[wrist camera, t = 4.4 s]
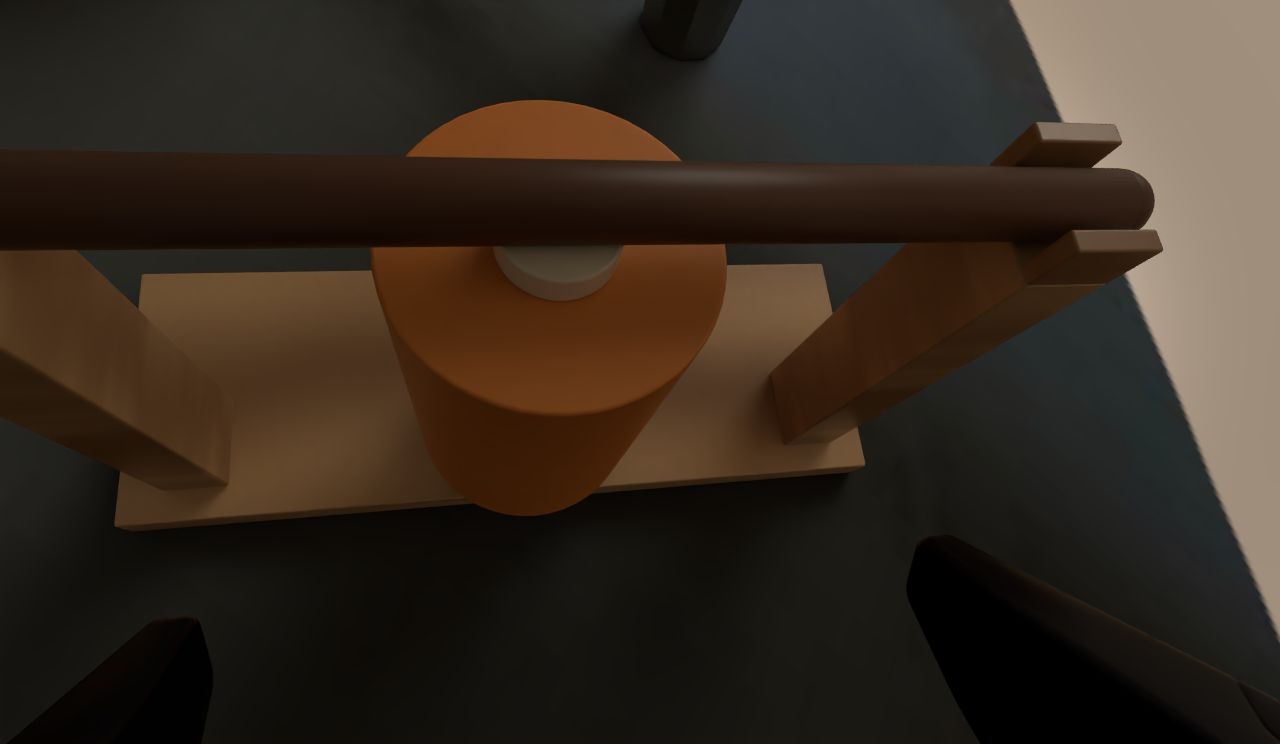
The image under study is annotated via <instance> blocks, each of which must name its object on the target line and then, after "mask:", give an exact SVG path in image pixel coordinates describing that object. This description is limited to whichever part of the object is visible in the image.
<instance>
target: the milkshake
mask: <svg viewBox="0 0 1280 744" xmlns="http://www.w3.org/2000/svg"><path fill="white" fill-rule="evenodd" d="M742 1H743V0H645V2H644V10H643V19H642V29H643V31H644V32H645V34H646V35H647V37H648V38H649V40H650V41H651V43H652V44H653V46H654V47H655V48H656V49H658V50H660V51H662V52H664V53H666V54H668V55H670V56H672V57H674V58H676V59H678V60H686V59H704V58H705V57H706V56H708V55H709V54H710V53H711V52H712V51H714V50H715V49H716V48H717V47H719V46H720V45H721V43H722V41H723V39H724V37H725V35H726V33H727V31H728V29H729V27H730V25H731V23H732V21H733V19H734V17H735V15H736V13H737V11H738V9H739V7H740V5H741V3H742Z"/></svg>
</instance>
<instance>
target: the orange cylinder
mask: <svg viewBox="0 0 1280 744" xmlns="http://www.w3.org/2000/svg"><path fill="white" fill-rule="evenodd" d="M1154 201H1155V200H1154V193H1153V190H1152V188H1151V185H1150V184H1149V183H1148V181H1147V180H1146V179H1145V178H1143V177H1142V176H1141V175H1140V174H1138V173H1136V172H1133V171H1131V170H1126V169H1119V168H1063V167H1004V166H944V165H885V164H825V163H766V162H707V161H681V160H680V159H679V158H678V157H677V156H676V155H675V154H674V153H673V152H672V151H671V150H670V149H668V148H667V147H666V146H665V145H664V144H663V143H661V142H660V141H659V140H657V139H656V138H654V137H653V136H652V135H650V134H649V133H647V132H646V131H644V130H642V129H641V128H639V127H637V126H635V125H633V124H632V123H630V122H628V121H626V120H624V119H621V118H619V117H617V116H614V115H612V114H610V113H607V112H604V111H601V110H598V109H594V108H591V107H588V106H583V105H578V104H573V103H568V102H560V101H548V100H524V101H515V102H507V103H500V104H496V105H492V106H488V107H484V108H480V109H478V110H475V111H472V112H470V113H467V114H464V115H462V116H459V117H457V118H456V119H454V120H452V121H450V122H448V123H446V124H444V125H442V126H441V127H439V128H438V129H436V130H435V131H434V132H432V133H431V134H429V135H428V136H426V137H425V138H424V139H423V140H422V141H421V142H419V143H418V144H417V145H416V146H415V147H414V148H413V149H412V150H411V151H410V152H409V153H408V154H407V155H406V156H350V155H290V154H231V153H172V152H112V151H53V150H0V251H40V250H153V249H266V248H370V257H371V270H372V275H373V279H374V283H375V288H376V292H377V295H378V298H379V302H380V305H381V308H382V311H383V314H384V317H385V320H386V323H387V326H388V329H389V333H390V336H391V339H392V342H393V345H394V348H395V351H396V354H397V357H398V361H399V364H400V367H401V370H402V373H403V376H404V379H405V382H406V385H407V389H408V392H409V395H410V398H411V401H412V404H413V407H414V410H415V413H416V417H417V420H418V423H419V426H420V429H421V432H422V435H423V438H424V441H425V445H426V447H427V450H428V452H429V455H430V457H431V459H432V461H433V463H434V465H435V466H436V468H437V470H438V471H439V473H440V474H441V475H442V476H443V478H444V479H445V480H446V481H447V482H448V483H449V484H450V485H451V486H452V487H453V488H454V489H455V490H456V491H457V492H458V493H460V494H461V495H462V496H464V497H465V498H466V499H468V500H470V501H472V502H473V503H475V504H477V505H479V506H481V507H484V508H486V509H489V510H491V511H495V512H499V513H503V514H507V515H516V516H536V515H542V514H549V513H552V512H556V511H559V510H563V509H565V508H567V507H569V506H572V505H574V504H576V503H577V502H579V501H581V500H582V499H584V498H586V497H587V496H588V495H590V494H591V493H592V492H593V491H595V490H596V489H597V488H598V487H599V486H600V485H601V484H602V483H603V482H604V481H605V480H606V479H607V477H608V476H609V474H610V473H611V472H612V470H613V469H614V468H615V466H616V465H617V464H618V462H619V461H620V459H621V458H622V457H623V455H624V454H625V453H626V451H627V450H628V449H629V447H630V446H631V444H632V443H633V442H634V440H635V439H636V438H637V436H638V435H639V434H640V432H641V431H642V429H643V428H644V427H645V425H646V424H647V423H648V421H649V420H650V419H651V417H652V416H653V414H654V413H655V412H656V410H657V409H658V408H659V406H660V405H661V404H662V402H663V401H664V399H665V398H666V397H667V395H668V394H669V393H670V391H671V390H672V389H673V387H674V386H675V384H676V383H677V382H678V380H679V379H680V378H681V376H682V375H683V374H684V372H685V371H686V370H687V368H688V367H689V365H690V364H691V363H692V361H693V360H694V359H695V357H696V356H697V354H698V353H699V352H700V350H701V349H702V348H703V346H704V345H705V343H706V342H707V340H708V338H709V336H710V334H711V332H712V330H713V328H714V327H715V325H716V322H717V319H718V316H719V313H720V310H721V308H722V305H723V299H724V294H725V289H726V276H727V261H726V251H725V244H832V243H945V242H1056V241H1057V240H1059V239H1060V238H1061V237H1063V236H1064V235H1066V234H1067V233H1069V232H1070V231H1072V230H1139V229H1140V228H1142V227H1143V226H1144V225H1145V224H1146V222H1147V221H1148V219H1149V218H1150V216H1151V214H1152V212H1153V208H1154Z"/></svg>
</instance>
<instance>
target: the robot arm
mask: <svg viewBox="0 0 1280 744" xmlns="http://www.w3.org/2000/svg"><path fill="white" fill-rule="evenodd" d="M906 590H907V596H908V600H909V602H910V605H911V607H912V609H913V611H914V613H915V616H916V618H917V620H918V622H919V624H920V626H921V628H922V631H923V633H924V635H925V637H926V639H927V641H928V643H929V646H930V648H931V650H932V652H933V654H934V656H935V658H936V661H937V663H938V665H939V667H940V669H941V671H942V673H943V676H944V678H945V680H946V682H947V684H948V686H949V688H950V690H951V692H952V694H953V696H954V698H955V700H956V702H957V704H958V706H959V707H960V709H961V711H962V713H963V715H964V716H965V718H966V720H967V722H968V723H969V725H970V727H971V729H972V730H973V732H974V734H975V735H976V737H977V739H978V740H979V742H980V744H1280V701H1279V700H1277V699H1275V698H1273V697H1271V696H1269V695H1267V694H1265V693H1263V692H1261V691H1260V690H1258V689H1256V688H1254V687H1252V686H1250V685H1248V684H1246V683H1244V682H1241V681H1238V682H1236V681H1235V679H1234V678H1233V677H1231V676H1230V675H1228V674H1226V673H1224V672H1222V671H1220V670H1218V669H1216V668H1214V667H1212V666H1210V665H1208V664H1206V663H1204V662H1202V661H1200V660H1198V659H1196V658H1194V657H1192V656H1190V655H1188V654H1186V653H1184V652H1182V651H1180V650H1178V649H1176V648H1174V647H1172V646H1170V645H1168V644H1166V643H1164V642H1162V641H1160V640H1158V639H1156V638H1154V637H1152V636H1150V635H1148V634H1146V633H1144V632H1142V631H1140V630H1138V629H1136V628H1134V627H1132V626H1130V625H1128V624H1126V623H1124V622H1122V621H1120V620H1118V619H1116V618H1114V617H1112V616H1110V615H1108V614H1106V613H1104V612H1102V611H1100V610H1098V609H1096V608H1094V607H1092V606H1091V605H1089V604H1087V603H1085V602H1083V601H1081V600H1079V599H1077V598H1075V597H1073V596H1071V595H1069V594H1067V593H1065V592H1063V591H1061V590H1059V589H1057V588H1055V587H1053V586H1051V585H1049V584H1047V583H1045V582H1043V581H1041V580H1039V579H1037V578H1035V577H1033V576H1031V575H1029V574H1027V573H1025V572H1023V571H1021V570H1019V569H1017V568H1015V567H1013V566H1011V565H1009V564H1007V563H1005V562H1003V561H1001V560H999V559H997V558H995V557H993V556H991V555H989V554H987V553H985V552H983V551H981V550H979V549H977V548H975V547H973V546H971V545H969V544H967V543H965V542H964V541H962V540H960V539H958V538H956V537H953V536H950V535H940V536H930V537H924V538H922V539H921V540H920V541H919V542H918V544H917V546H916V550H915V553H914V557H913V561H912V565H911V568H910V572H909V576H908V579H907V587H906ZM212 688H213V669H212V665H211V661H210V657H209V654H208V650H207V646H206V642H205V639H204V635H203V631H202V628H201V625H200V623H199V621H198V620H197V618H195V617H193V616H181V617H172V618H162V619H158V620H154V621H152V622H151V623H149V624H148V625H147V626H145V627H144V628H143V629H142V630H141V631H139V632H138V633H137V634H136V635H135V636H134V637H132V638H131V639H130V640H129V641H128V642H126V643H125V644H124V645H123V646H122V647H120V648H119V649H118V650H117V651H116V652H115V653H113V654H112V655H111V656H110V657H109V658H107V659H106V660H105V661H104V662H103V663H102V664H100V665H99V666H98V667H97V668H96V669H94V670H93V671H92V672H91V673H90V674H89V675H87V676H86V677H85V678H84V679H83V680H81V681H80V682H79V683H78V684H77V685H75V686H74V687H73V688H72V689H71V690H70V691H68V692H67V693H66V694H65V695H64V696H62V697H61V698H60V699H59V700H58V701H57V702H55V703H54V704H53V705H52V706H51V707H49V708H48V709H47V710H46V711H45V712H44V713H42V714H41V715H40V716H39V717H38V718H36V719H35V720H34V721H33V722H32V723H30V724H29V725H28V726H27V727H26V728H25V729H23V730H22V731H21V732H20V733H19V734H17V735H16V736H15V737H14V738H13V739H12V740H10V741H9V742H8V743H7V744H201V742H202V737H203V732H204V727H205V723H206V718H207V713H208V708H209V703H210V698H211V694H212Z"/></svg>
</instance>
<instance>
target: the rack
mask: <svg viewBox="0 0 1280 744" xmlns="http://www.w3.org/2000/svg"><path fill="white" fill-rule="evenodd" d="M1121 143H1122V140H1121V138H1120V135H1119V132H1118V130H1117V127H1116V126H1115V125H1114V124H1083V123H1054V122H1035V123H1033V124H1032V125H1031V126H1030V127H1029V128H1028V129H1027V130H1026V131H1025V132H1024V133H1023V134H1022V135H1020V136H1019V137H1018V138H1017V139H1016V140H1015V141H1014V142H1013V143H1012V144H1011V145H1010V146H1009V147H1008V148H1007V149H1006V150H1005V151H1004V152H1003V153H1001V154H1000V155H999V156H998V157H997V158H996V159H995V160H994V161H993V162H992V163H991V164H990V166H1004V167H1063V168H1092V167H1093V166H1094V165H1095V164H1097V163H1098V162H1099V161H1100V160H1102V159H1103V158H1104V157H1106V156H1107V155H1108V154H1109V153H1111V152H1112V151H1113V150H1114V149H1116V148H1117V147H1118V146H1119V145H1121ZM1162 251H1163V247H1162V244H1161V242H1160V239H1159V237H1158V234H1157V231H1156V230H1072V231H1070V232H1069V233H1067V234H1066V235H1064V236H1063V237H1061V238H1060V239H1059V240H1057V241H1056V242H945V243H907V244H906V245H905V246H904V247H902V248H901V249H900V250H899V251H898V252H897V253H896V254H895V255H894V256H893V257H892V258H891V259H890V260H889V261H888V262H887V263H886V264H885V265H883V266H882V267H881V268H880V269H879V270H878V271H877V272H876V273H875V274H874V275H873V276H872V277H871V278H870V279H869V280H868V281H867V282H865V283H864V284H863V285H862V286H861V287H860V288H859V289H858V290H857V291H856V292H855V293H854V294H853V295H852V296H851V297H850V298H849V299H848V300H846V301H845V302H844V303H843V304H842V305H841V306H840V307H839V308H838V309H837V310H836V311H835V312H834V313H832V309H831V304H830V300H829V295H828V290H827V286H826V281H825V277H824V272H823V267H822V264H782V265H727V276H726V289H725V294H724V299H723V305H722V308H721V310H720V313H719V316H718V319H717V322H716V325H715V327H714V328H713V330H712V332H711V334H710V336H709V338H708V340H707V342H706V343H705V345H704V346H703V348H702V349H701V350H700V352H699V353H698V354H697V356H696V357H695V359H694V360H693V361H692V363H691V364H690V365H689V367H688V368H687V370H686V371H685V372H684V374H683V375H682V376H681V378H680V379H679V380H678V382H677V383H676V384H675V386H674V387H673V389H672V390H671V391H670V393H669V394H668V395H667V397H666V398H665V399H664V401H663V402H662V404H661V405H660V406H659V408H658V409H657V410H656V412H655V413H654V414H653V416H652V417H651V419H650V420H649V421H648V423H647V424H646V425H645V427H644V428H643V429H642V431H641V432H640V434H639V435H638V436H637V438H636V439H635V440H634V442H633V443H632V444H631V446H630V447H629V449H628V450H627V451H626V453H625V454H624V455H623V457H622V458H621V459H620V461H619V462H618V464H617V465H616V466H615V468H614V469H613V470H612V472H611V473H610V474H609V476H608V477H607V479H606V480H605V481H604V482H603V483H602V484H601V485H600V486H599V487H598V488H597V489H596V490H595V491H593V492H592V493H591V494H593V493H605V492H617V491H629V490H641V489H653V488H665V487H677V486H690V485H702V484H714V483H726V482H738V481H750V480H762V479H774V478H786V477H798V476H810V475H822V474H834V473H847V472H852V471H854V470H856V469H859V468H861V467H863V466H865V461H864V457H863V452H862V447H861V443H860V438H859V434H858V429H857V427H858V426H860V425H861V424H863V423H865V422H867V421H868V420H870V419H872V418H874V417H875V416H877V415H879V414H881V413H882V412H884V411H886V410H888V409H889V408H891V407H893V406H894V405H896V404H898V403H900V402H901V401H903V400H905V399H907V398H908V397H910V396H912V395H914V394H915V393H917V392H919V391H920V390H922V389H924V388H926V387H927V386H929V385H931V384H933V383H934V382H936V381H938V380H940V379H941V378H943V377H945V376H947V375H948V374H950V373H952V372H953V371H955V370H957V369H959V368H960V367H962V366H964V365H966V364H967V363H969V362H971V361H973V360H974V359H976V358H978V357H979V356H981V355H983V354H985V353H986V352H988V351H990V350H992V349H993V348H995V347H997V346H999V345H1000V344H1002V343H1004V342H1005V341H1007V340H1009V339H1011V338H1012V337H1014V336H1016V335H1018V334H1019V333H1021V332H1023V331H1025V330H1026V329H1028V328H1030V327H1032V326H1033V325H1035V324H1037V323H1038V322H1040V321H1042V320H1044V319H1045V318H1047V317H1049V316H1051V315H1052V314H1054V313H1056V312H1058V311H1059V310H1061V309H1063V308H1064V307H1066V306H1068V305H1070V304H1071V303H1073V302H1075V301H1077V300H1078V299H1080V298H1082V297H1084V296H1085V295H1087V294H1089V293H1090V292H1092V291H1094V290H1096V289H1097V288H1099V287H1101V286H1103V285H1104V284H1106V283H1108V282H1110V281H1112V280H1113V279H1115V278H1117V277H1119V276H1120V275H1122V274H1124V273H1126V272H1127V271H1129V270H1131V269H1132V268H1134V267H1136V266H1138V265H1139V264H1141V263H1143V262H1145V261H1146V260H1148V259H1150V258H1152V257H1153V256H1155V255H1157V254H1158V253H1160V252H1162ZM0 417H3V418H5V419H7V420H9V421H11V422H14V423H16V424H18V425H20V426H22V427H24V428H27V429H29V430H31V431H33V432H35V433H38V434H40V435H42V436H44V437H46V438H49V439H51V440H53V441H55V442H57V443H59V444H62V445H64V446H66V447H68V448H70V449H73V450H75V451H77V452H79V453H81V454H84V455H86V456H88V457H90V458H92V459H94V460H97V461H99V462H101V463H103V464H105V465H108V466H110V467H112V468H114V469H116V470H118V471H120V477H119V486H118V495H117V504H116V513H115V522H114V525H115V526H116V527H119V528H122V529H125V530H129V531H132V532H134V531H146V530H158V529H170V528H182V527H194V526H206V525H219V524H231V523H243V522H255V521H267V520H279V519H291V518H303V517H315V516H327V515H339V514H351V513H363V512H376V511H388V510H400V509H412V508H424V507H436V506H448V505H460V504H472V503H473V502H472V501H470V500H468V499H466V498H465V497H464V496H462V495H461V494H460V493H458V492H457V491H456V490H455V489H454V488H453V487H452V486H451V485H450V484H449V483H448V482H447V481H446V480H445V479H444V478H443V476H442V475H441V474H440V473H439V471H438V470H437V468H436V466H435V465H434V463H433V461H432V459H431V457H430V455H429V452H428V450H427V447H426V445H425V441H424V438H423V435H422V432H421V429H420V426H419V423H418V420H417V417H416V413H415V410H414V407H413V404H412V401H411V398H410V395H409V392H408V389H407V385H406V382H405V379H404V376H403V373H402V370H401V367H400V364H399V361H398V357H397V354H396V351H395V348H394V345H393V342H392V339H391V336H390V333H389V329H388V326H387V323H386V320H385V317H384V314H383V311H382V308H381V305H380V302H379V298H378V295H377V292H376V288H375V283H374V279H373V275H372V271H325V272H260V273H195V274H143V275H142V278H141V287H140V296H139V306H138V308H137V307H136V306H135V305H134V304H133V303H131V302H130V301H129V300H128V299H127V298H126V297H125V296H124V295H123V294H122V293H121V292H120V291H119V290H118V289H117V288H116V287H115V286H113V285H112V284H111V283H110V282H109V281H108V280H107V279H106V278H105V277H104V276H103V275H102V274H101V273H100V272H99V271H98V270H97V269H95V268H94V267H93V266H92V265H91V264H90V263H89V262H88V261H87V260H86V259H85V258H84V257H83V256H82V255H81V254H80V253H79V252H78V251H76V250H40V251H0Z"/></svg>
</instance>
